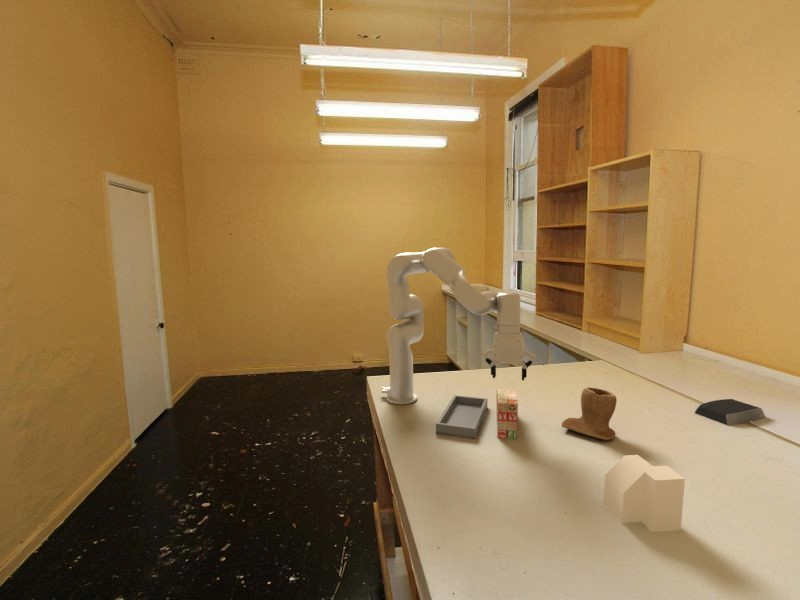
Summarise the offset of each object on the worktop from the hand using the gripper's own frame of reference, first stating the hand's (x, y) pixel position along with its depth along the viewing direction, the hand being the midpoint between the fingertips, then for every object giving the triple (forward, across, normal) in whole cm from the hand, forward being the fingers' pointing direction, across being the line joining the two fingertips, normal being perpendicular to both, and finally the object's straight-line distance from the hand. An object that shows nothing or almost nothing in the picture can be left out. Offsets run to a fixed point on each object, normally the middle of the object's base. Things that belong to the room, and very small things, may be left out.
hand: (508, 378), depth 142 cm
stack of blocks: (+17, -1, 0) cm, 17 cm away
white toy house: (+18, +33, -40) cm, 55 cm away
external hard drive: (+19, +74, +34) cm, 84 cm away
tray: (+17, -16, 0) cm, 23 cm away
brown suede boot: (+18, +26, +3) cm, 32 cm away
